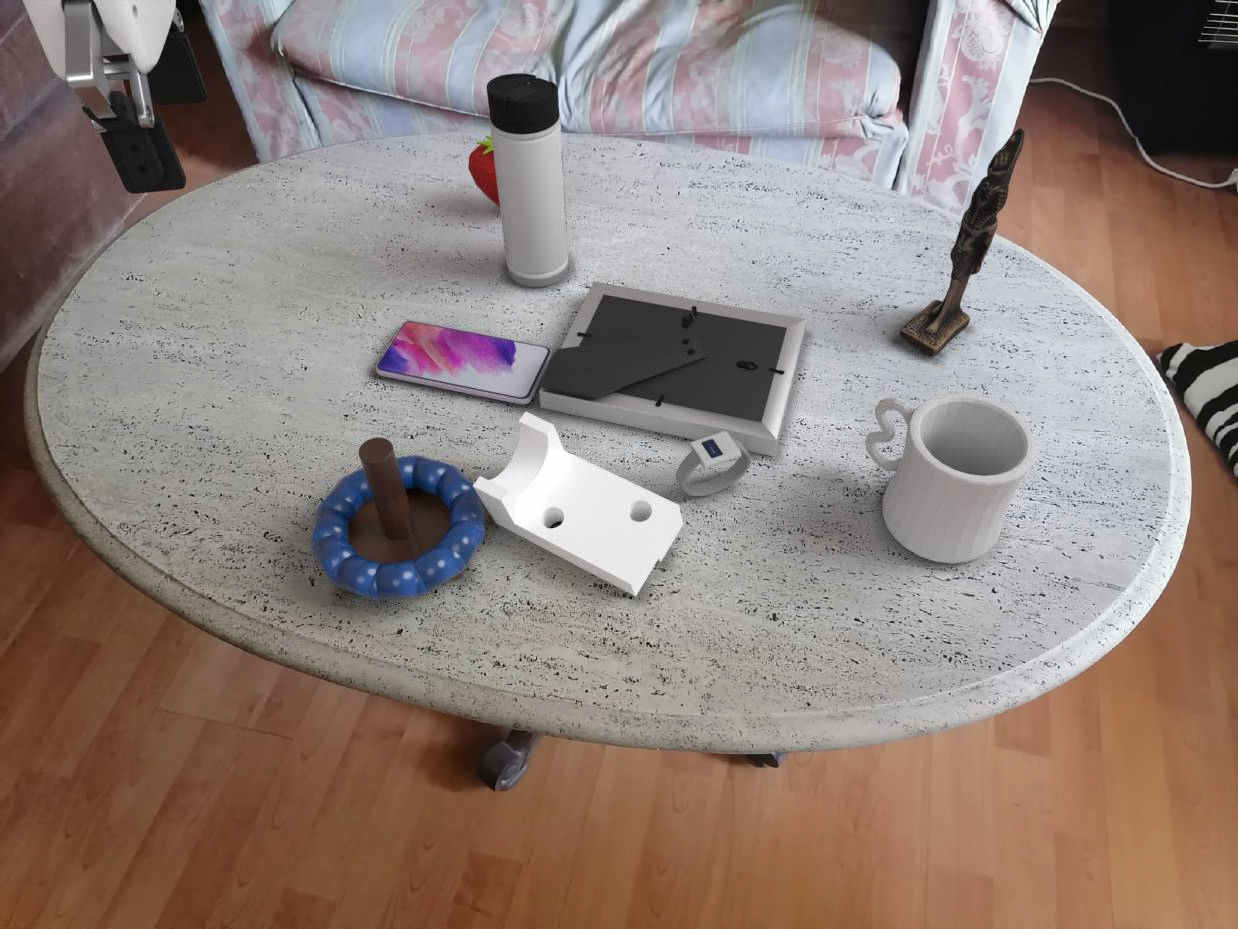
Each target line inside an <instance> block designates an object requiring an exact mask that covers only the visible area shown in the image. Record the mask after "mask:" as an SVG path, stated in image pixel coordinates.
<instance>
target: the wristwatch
mask: <svg viewBox="0 0 1238 929" xmlns="http://www.w3.org/2000/svg"><path fill="white" fill-rule="evenodd" d="M688 446H689V448H690V451H691V452H689V453H688V454H687V455H686V456H685V458H683V460H682V461H681V462H680V464H679V465H678V468H677V469H676V472H675V480H676V482H677V485H679V487H680V489H681V490H682V492H684V493H685V494H686V495H689V496H693V497H705V496H706V497H707V496H710V495H713V494H717V493H719V492H721V491H723V490H725V489H726V488H728V487H730V486H732V485H733V484H735V483H736V482H737V481H738V480H740V479H741V478H742V477H743V476H744V475H746V473H747V471H748V470H749V468H750V466H751V463H752V458H751V454H750V452H749V451H747V450H746V449H745V447H744V446H743V445H742V443H741V442H739V441H738V440H736V439H734V438H731V437H730V435H729V434H728V433H727V431H723V432H720V433H717V434H714V435H711V436H708V437H705V438H702V439H699V440H692V441H690V442H689V445H688ZM736 459H737V460H736ZM733 460H736V462H735V463H734V464H733V465H732V466H730V468H729V469H727V470H726V471H724V472H722V473H721V474H720V475H719V474H718V475H717V476H716V477H714V478H711V479H709V480H707V481H703V482H698V483H689V482H687V480H688V479H689V476H690V475H691V473H692V472H693V471H694V470H695V469H696V468H697V467H698V466H699V465H701V467H702V469H703V470H708V469H710V468H714V467H716V466H719V465H722V464H725V463H728V462H731V461H733Z"/></svg>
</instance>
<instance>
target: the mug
mask: <svg viewBox="0 0 1238 929" xmlns="http://www.w3.org/2000/svg"><path fill="white" fill-rule="evenodd" d="M889 410H894V411H896V412H898V413H900V415H901V416H902V418H903V420H904V423H905V424H906V425H907V429H906V435H905V443H904V449H903V453H902V455H901V457H898V458H896V459H888V458H887V457H886V456H885V455H884V454H883V453H882V450H880V447H879V446H878V444H879V443H889V442H892V440H894V439H895V436H896V432H897V431H896V429H895V427H894V424H893V422H892V421H891V418H890V416H889V413H888V411H889ZM874 414H875V415H874V416H875V419H876V420H877V423H878V426H879V427H880V429H881V431H872V432H869V433H868V434H867V436H866V439H865V441H864V445H865V448H866V451H867V454H868V455H869V457H870V458H871V460H872V461H873V462H874V463H875V464H876V466H878V467H879V468H880V469H882V470H884V471H885V472H894V474H893V476H892V478H891V479H890V481H889V483H888V485H887V487H886V490H885V492H884V495H883V498H882V517H883V520H884V523H885V525H886V528H887V530H888V532H890V534H891V535H892V537H893V538H894V540H896V541H897V542H898V543H899V544H900V545H901V546H903V547H904V548H905V549H906V550H908V551H909V552H912V553H913V554H915V555H917V556H919V557H921V558H924V559H927V560H930V561H933V562H936V563H946V564H960V563H961V564H962V563H968V562H970V561H974V560H977V559H979V558H981V557H982V556H984V555H986V554H987V553H988V552H990V551H991V550H992V548H993V547H994V545H996V543H997V541H998V540H999V538H1000V536H1001V533H1002V530H1003V526H1004V522H1005V519H1006V518H1005V517H1006V515H1007V511H1008V509H1009V506H1010V504H1011V502H1012V500H1013V497H1014V495H1015V492H1016V490H1017V488H1018V486H1019V485H1020V484H1021V482H1022V480H1023V479H1024V478H1025V476H1026V475H1027V473H1028V472H1029V470H1030V469H1031V468H1032V466H1033V465H1034V463H1035V460H1036V455H1037V451H1038V448H1037V443H1036V442H1037V441H1036V437H1035V435H1034V433H1033V431H1032V430H1031V428H1030V425H1029V424H1028V423H1027V422H1026V421H1025V420H1024V419H1023V418H1022V417H1021V416H1020V414H1019V413H1017V412H1016V411H1014V410H1013V409H1012V408H1010V407H1009V406H1008V405H1006V404H1003V403H1001V402H999V401H997V400H995V399H993V398H991V397H987V396H983V395H980V394H976V393H968V392H951V393H943V394H940V395H937V396H933V397H930V398H929V399H927V400H925V401H924V402H922V403H920V404H919V405H918V406H917V407H916V409H915V410H914V408H913V407H912V406H911V404H909V402H908V401H905V400H903V399H901V398H896V397H886V398H884V399H881V400H879V401H878V403H877V405H876V407H875V408H874Z"/></svg>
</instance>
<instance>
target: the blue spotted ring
mask: <svg viewBox="0 0 1238 929" xmlns="http://www.w3.org/2000/svg"><path fill="white" fill-rule="evenodd" d="M396 459H397V463H398V466H399V470H400V473H401V477H402V480H403V484H404V487H405V490H406V489H415V488H416V489H419V490H422V491H425V492H428V493H431V494H434V495H437V496H439V498H440V499H441V500H442V501H443V502H444V503H445V505H446V506H447V507H448V508H449V511H450V527H449V528H448V530H447V532H446V533H445V535H444V536H443V538H442V539H441V541H440V542H439V544H438V545H437V546H436V547H434V548H432V549H431V550H429V551H427V552H425V553H424V554H422V555H420V556H419V557H417V558H415V559H413V560H411V561H402V562H394V563H385V564H381V563H378V562H375V561H372V560H370V559H367V558H364V557H361V556H359V555H358V554H357V553H356V551H355V550H354V548H353V547H352V546H351V544H350V543H349V542H348V539H349V523H350V522H351V521H352V519H353V518H354V517H355V515H356V514H357V513H358V511H359V510H360V509H361V507H362V506H363V505H364V504H366V503H368V502H370V501H371V500H373V497H372V494H371V491H370V488H369V485H368V482H367V479H366V476H365V472H364V469H363V467H361V468H359V469H357V470H355V471H353V472H351V473H350V474H348V475H346V476H344V477H341V478H340V479H339V480H338V481H337V482H336V484H334V486H333V487H332V489H331V491H329V493H328V494H327V495H326V496H325V498H324V499H323V501H321V503H320V504H319V505H318V507H317V508H316V510H315V512H314V515H313V526H312V536H311V553H312V555H313V557H314V558H315V560H316V561H317V563H318V564H319V566H320V567H321V569H322V570H323V571H324V573H325V575H326V576H327V577H328V579H329V580H330V581H331V583H332V584H333V585H335V586H336V587H337V588H342V589H345V590H348V591H351V592H353V593H352V594H357V595H359V596H362V597H365V598H367V599H369V600H373V601H377V602H378V601H379V602H380V601H388V600H396V599H404V598H405V599H406V598H412V597H414V598H415V597H421V596H424V595H426V594H428V593H430V592H431V591H433V590H435V589H437V588H438V587H439V586H441V585H443V584H445V583H447V582H448V581H450V579H451V578H453V577H455V576H456V575H458V574H460V573H461V572H462V571H463V572H464V570H465V569H466V568H467V566H468V564H469V562H470V561H471V559H472V558H473V557H474V555H475V553H476V551H477V550H478V548H479V546H480V545H481V543H482V542H483V540H484V537H485V535H486V524H485V523H486V522H485V505H484V503H483V502H482V500H481V499H480V497H479V495H478V494H477V492H476V491H475V489H474V487H473V485H474V483H472V482H471V481H470V479H469V478H468V477H467V476H466V475H465V474H464V473H463V471H461V469H459V468H458V467H457V466H455V465H453V464H448V463H445V462H442V461H440V460H436V459H433V458H430V457H427V456H423V455H419V454H418V455H408V456H399V457H398V456H396ZM451 580H452V579H451Z"/></svg>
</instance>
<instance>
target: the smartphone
mask: <svg viewBox="0 0 1238 929" xmlns="http://www.w3.org/2000/svg"><path fill="white" fill-rule="evenodd" d="M552 358H553V350H552V349H551V348H550V347H549V346H545V345H540V344H536V343H530V342H525V341H519V340H514V339H509V338H504V337H499V336H494V335H488V334H483V333H478V332H474V331H468V330H463V329H458V328H453V327H447V326H442V325H437V324H431V323H426V322H421V321H415V320H407V321H406V320H405V321H404V322H402V324H401V326H400V327H399V328H398V330H397V332H396V334H395V335H394V337H393V338H392V340H391V341H390V343H389V344H388V346H387V348H386V349H385V351H384V352H383V354H382V355H381V357H380V358H379V360H378V361H377V363H376V364H375V365H376V366H375V372H376V374H377V375H379V376H381V377H386V378H391V379H394V380H399V381H404V382H408V383H409V382H410V383H414V384H419V385H423V386H429V387H433V388H434V387H435V388H440V389H444V390H449V391H453V392H459V393H464V394H468V395H473V396H478V397H483V398H487V399H492V400H497V401H502V402H508V403H511V404H517V405H527V404H530V403H531V402H532V400H533V398H534V396H535V395H536V392H537V390H538V388H539V383H540V381H541V379H542V378H543V376H544V374H545V372H546V370H547V368H548V366H549V364H550V362H551V360H552Z"/></svg>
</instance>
